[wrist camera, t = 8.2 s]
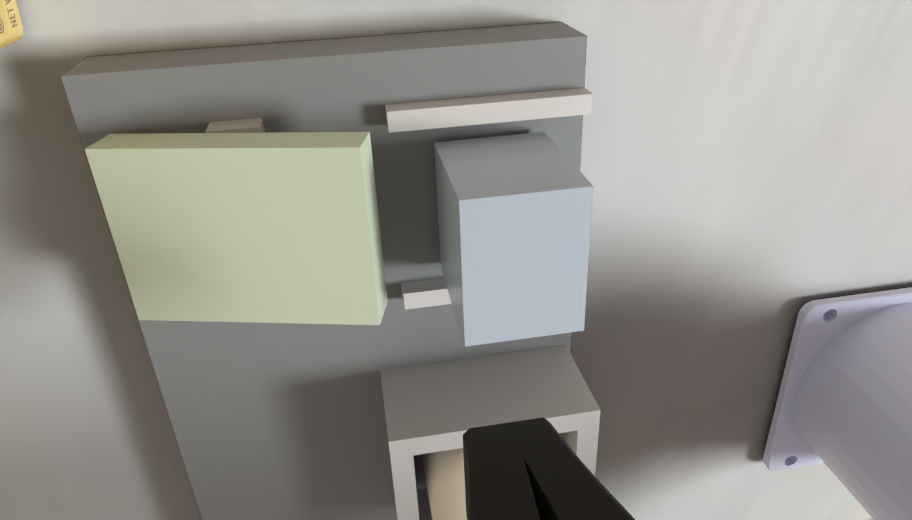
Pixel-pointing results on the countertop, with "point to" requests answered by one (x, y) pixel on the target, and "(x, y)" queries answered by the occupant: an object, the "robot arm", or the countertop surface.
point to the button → (446, 484)
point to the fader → (513, 236)
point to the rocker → (245, 225)
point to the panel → (404, 257)
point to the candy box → (9, 23)
